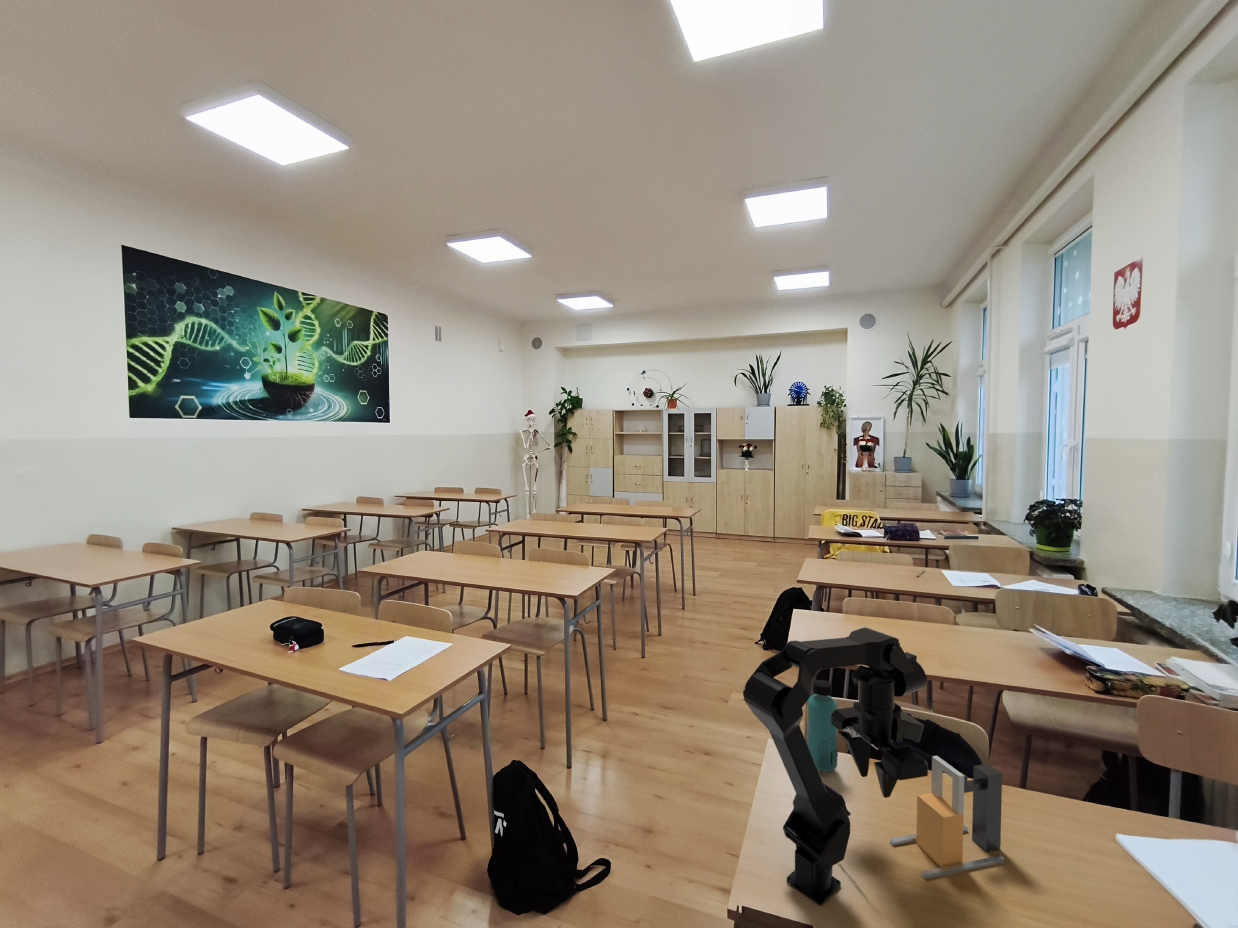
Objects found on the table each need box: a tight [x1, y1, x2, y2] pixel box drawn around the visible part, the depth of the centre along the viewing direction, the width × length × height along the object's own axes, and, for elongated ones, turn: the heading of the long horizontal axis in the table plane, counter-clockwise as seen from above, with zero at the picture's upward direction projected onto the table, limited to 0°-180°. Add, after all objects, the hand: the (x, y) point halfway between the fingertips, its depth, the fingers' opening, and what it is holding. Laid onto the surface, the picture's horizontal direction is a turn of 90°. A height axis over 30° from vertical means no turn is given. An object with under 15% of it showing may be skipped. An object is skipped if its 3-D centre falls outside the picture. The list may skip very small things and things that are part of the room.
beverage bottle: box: [806, 679, 839, 772], centre depth 122 cm, size 6×7×20 cm
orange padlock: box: [915, 755, 965, 868], centre depth 96 cm, size 4×6×16 cm, turn 12°
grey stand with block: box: [889, 763, 1006, 880], centre depth 96 cm, size 18×10×15 cm, turn 102°
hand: (874, 786), depth 98 cm, fingers open, 6 cm apart
